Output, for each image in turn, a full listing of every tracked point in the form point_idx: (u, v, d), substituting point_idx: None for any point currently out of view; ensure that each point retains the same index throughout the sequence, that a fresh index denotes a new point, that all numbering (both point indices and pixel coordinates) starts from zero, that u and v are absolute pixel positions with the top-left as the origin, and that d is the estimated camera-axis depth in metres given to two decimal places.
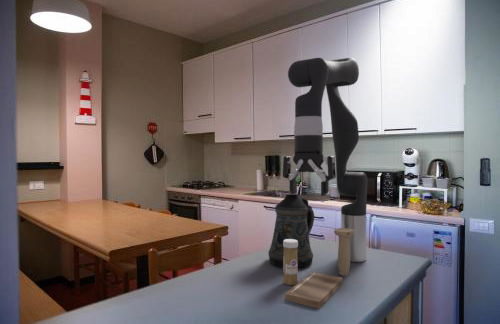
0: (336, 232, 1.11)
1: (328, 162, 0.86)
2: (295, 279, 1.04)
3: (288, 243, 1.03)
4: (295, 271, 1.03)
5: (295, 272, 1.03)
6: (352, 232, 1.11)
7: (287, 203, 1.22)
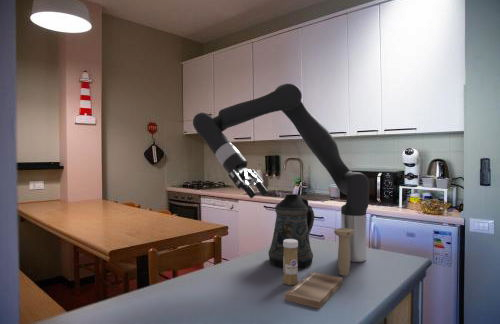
0: (336, 232, 1.11)
1: None
2: (295, 279, 1.04)
3: (288, 243, 1.03)
4: (295, 271, 1.03)
5: (295, 272, 1.03)
6: (352, 232, 1.11)
7: (287, 203, 1.22)
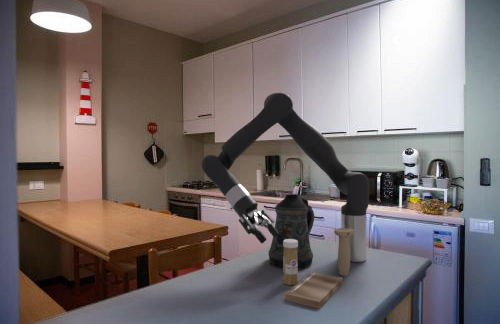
0: (336, 232, 1.11)
1: None
2: (295, 279, 1.04)
3: (288, 243, 1.03)
4: (295, 271, 1.03)
5: (295, 272, 1.03)
6: (352, 232, 1.11)
7: (287, 203, 1.22)
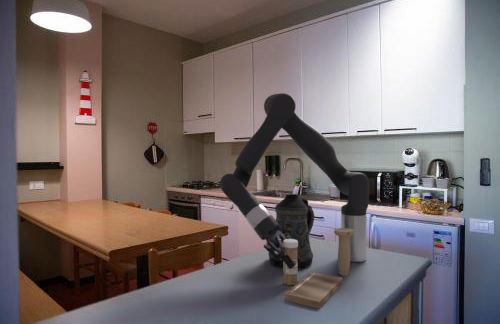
0: (336, 232, 1.11)
1: None
2: (295, 279, 1.04)
3: (288, 243, 1.03)
4: (295, 271, 1.03)
5: (295, 272, 1.03)
6: (352, 232, 1.11)
7: (287, 203, 1.22)
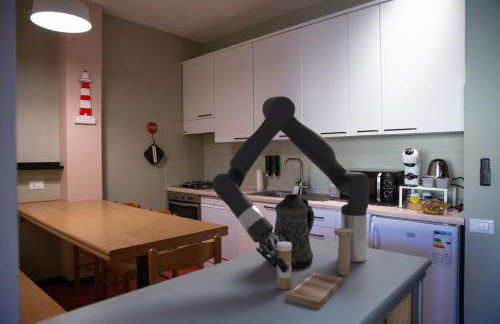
0: (336, 232, 1.11)
1: None
2: (289, 283, 1.00)
3: (281, 246, 1.00)
4: (289, 275, 1.00)
5: (289, 276, 1.00)
6: (352, 232, 1.11)
7: (287, 203, 1.22)
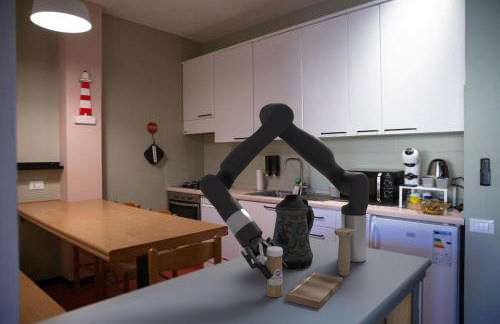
0: (336, 232, 1.11)
1: None
2: (280, 291, 0.95)
3: (272, 251, 0.94)
4: (280, 282, 0.95)
5: (279, 283, 0.95)
6: (352, 232, 1.11)
7: (287, 203, 1.22)
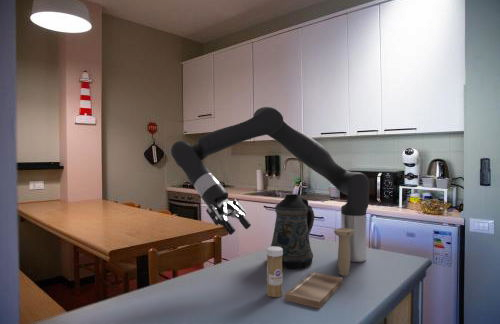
0: (336, 232, 1.11)
1: None
2: (280, 291, 0.95)
3: (272, 251, 0.94)
4: (280, 282, 0.95)
5: (279, 283, 0.95)
6: (352, 232, 1.11)
7: (287, 203, 1.22)
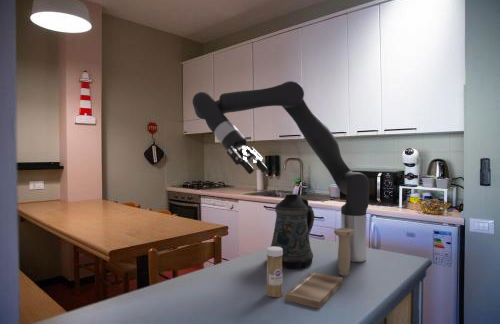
0: (336, 232, 1.11)
1: None
2: (280, 291, 0.95)
3: (272, 251, 0.94)
4: (280, 282, 0.95)
5: (279, 283, 0.95)
6: (352, 232, 1.11)
7: (287, 203, 1.22)
